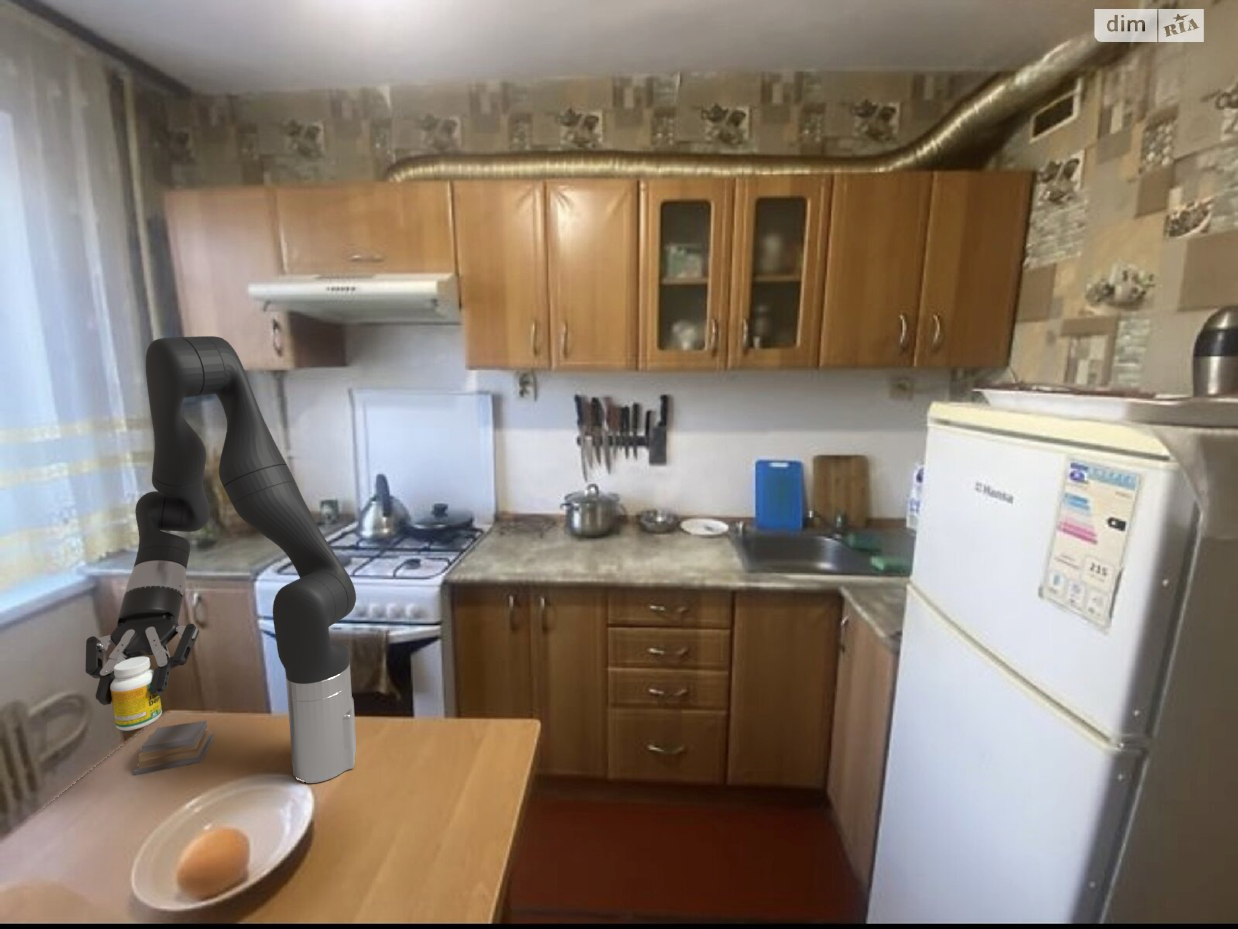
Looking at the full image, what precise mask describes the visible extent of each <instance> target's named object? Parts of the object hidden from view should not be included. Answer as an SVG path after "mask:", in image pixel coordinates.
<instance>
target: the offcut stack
mask: <svg viewBox="0 0 1238 929" xmlns="http://www.w3.org/2000/svg"><path fill="white" fill-rule="evenodd" d="M207 728H208V720H200V721H194V722H188V723H182V724H181V723H179V724H174V725H168V726H161V727H157V728H156V729H155V730H154V731H153V733H152V734H150V735H149V736H148V738H147V739H146V741H145V742H144V743H143V744H142V746H141V749H140V752H139V754H138V762H137V767H136V768H135V769H134V770H133V776H138V775H142V774H143V775H144V774H148V773H152V772H156V771H161V770H165V769H166V770H167V769H171V768H176V767H177V768H178V767H181V766H185V765H191V764H195V763H201V762H202V760H203V758H204V757H205V755H206V754H207V751H208V749H209V747H210V745H211V744H212V741H213V740H214V738H215V734H214V733H211V734H210V730H209V729H208V730H206V729H207Z"/></svg>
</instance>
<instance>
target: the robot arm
mask: <svg viewBox="0 0 1238 929" xmlns="http://www.w3.org/2000/svg"><path fill="white" fill-rule="evenodd" d="M145 376H146V385H147V386H146V387H147V394H148V401H149V402H148V404H149V409H150V410H149V411H150V415H151V421H152V422H151V423H152V428H153V429H152V430H153V436H154V450H153V451H154V453H153V462H152V472H151V474H152V475H151V483H152V486H153V488H154V489H155V490H156V491H149V492H147V493H144V494H143V495H142V496H140V498H138V499H137V501H136V505H135V511H134V514H135V520H136V525H137V529H138V548H137V553H136V558H135V561H134V565H133V568H132V571H131V573H130V576H129V578H128V580H127V584H126V587H125V591H124V595H123V599H122V603H121V606H120V610H119V613H118V617H117V622H116V623H117V624H116V626H115V628H114V629H113V631H112V632H110V634H108V635H104V636H101V637H96V636H94V635H93V636H90V637H88V638H87V639H86V640H85V673H86V674H87V675H88V676H90V677H92V678H94V679H99V681H98V685H97V689H96V692H95V700H97V701H98V703H99V704H101V705H103V706H106V705H111V704H112V696H111V690H110V685H111V683H112V681H113V680H114V679H115V678H116V676H115V675H114V667H115V665H117V664H118V663H120V662H122V661H124V660H127V659H131V658H135V657H143V656H154V657H155V661H156V664H157V667H156V668H154V670H155V671H154V676H153V680H152V685H151V690H150V693H151V695H153V696H154V697H155V696H160V697H161V695H162V692H165V691H166V690H167V689H168V685H169V678H170V674H171V671H172V670H173V669H174V668H176V667H178V666H185V665H186V664H187V663H188V661H189V658H190V655H191V653H192V650H193V647H194V646H195V644H196V641H197V638H198V637H199V633H200V630H199V628H198V627H197V625H195V624H194V623H189V624H186V625H179V622H178V621H179V617H180V614H181V608H182V604H183V598H184V594H185V591H186V583H187V580H186V579H187V578H186V577H187V576H186V575H187V574H186V573H187V570H188V563H189V557H190V554H191V553H190V552H191V543H190V542H189V540H188V539H186V538H184V537H183V536H180V535H177V534H173V533H169V532H180V533H181V532H182V533H185V532H186V533H192V532H193V533H194V532H197V531H200V530H201V529H203V528H204V527H205V526H206V525H207V524H208V522H209V519H210V515H211V509H210V503H209V500H208V497H207V495H206V494H207V493H206V492H205V491H206V490H205V488H204V475H205V469H206V462H207V451H206V446H205V444H204V442H203V440H202V439H201V437H200V436H199V434H198V433H197V432H196V430H194V429H193V428H192V426H191V425H190V424H189V423H188V422H187V420H186V419H185V417H184V415H183V411H182V408H183V406H182V405H183V402H184V399H185V398H191V397H192V398H193V397H199V396H200V397H201V396H207V395H209V396H210V395H216V396H217V398H218V400H219V401H220V403H221V406H222V409H223V410H224V411H223V412H224V414H225V418H226V434H225V437H224V438H225V439H224V442H223V446H222V451H221V454H220V459H219V466H218V476H219V480H220V482H221V485H222V487H223V490H224V491H225V493H226V494H227V497H228V499H229V501H230V502H231V505H232V507H233V508H234V510H235V512H236V513H237V514H238V516H239V517H240V518H241V519H242V520H243V521H244V522H245V523H247V524H248V525H249V526H250V527H251V528H253V529H254V530H255V531H257V532H259V534H261V535H262V536H264V537H265V538H267V539H268V540H270V541H271V542H272V543H274V544H275V545H277V547H279V548H280V549H281V550H282V551H283V552H284V554H285V555H286V556H287V558H288V559H289V560H290V562H291V563H292V565H293V567H294V569H295V571H296V573H297V575H298V577H299V578H298V579H296V580H293V581H292V582H289V583H287V584H286V585H284V586H282V587H281V588H279V590H278V591H277V593H276V594H275V596H274V600H273V603H272V604H273V605H272V620H273V621H272V622H273V627H274V628H273V629H274V633H275V634H274V635H275V641H276V648H277V654H278V658H279V661H280V662H281V664H282V666H283V668H284V671H285V672H284V673H285V680H286V682H285V683H286V696H287V709H288V722H289V723H288V724H289V734H290V735H289V736H290V738H289V739H290V747H291V748H290V749H291V750H290V751H291V752H290V753H291V765H292V775H293V777H294V776H295V777H297V778H299V779H301V780H304V781H305V782H306V784H315V783H321V782H326V781H328V780H330V779H333V778H336V777H338V776H339V775H341V774H343V773H345V771H349V770H353V769H354V767H355V760H356V751H357V735H356V722H355V720H356V719H355V703H354V701H355V700H354V698H353V696H352V682H351V663H350V662H351V660H350V650H349V648H348V646H347V645H346V644H344V643H343V642H339V641H332V640H331V638H330V632H329V631H330V628H331V627H332V626H333V625H335V624H336V623H337V622H339V621H341V620H342V619H344V618H346V617H347V616H348V615H349V614H350V613H351V612H353V610H354V608H355V606H356V601H357V593H356V592H357V591H356V588H355V586H354V582H353V580H352V579H351V577H350V575H349V573H348V572H347V570H346V569H345V567H344V565H343V564H342V563H341V561H340V560H339V558H338V556H337V555H336V553H335V552H334V550H333V549H332V547H331V546H330V544H329V543H328V541H327V539H326V538H325V536H324V534H323V533H322V531H321V529H320V527H319V525H318V523H317V522H316V520H315V518H314V516H313V514H312V513H311V511H310V509H309V506H308V505H307V503H306V501H305V499H304V498H303V495H302V493H301V491H300V489H299V487H298V486H299V485H298V484H297V482H296V480H295V477H294V476H293V474H292V472H291V470H290V468H289V466H288V463H287V462H286V460H285V458H284V457H283V454H282V453H281V451H280V449H279V448H278V446H277V443H276V442H275V440H274V438H273V435H272V433H271V432H270V430H269V429H270V428H269V427H268V425H267V423H266V422H265V419H264V417H263V414H262V411H261V410H260V407H259V405H258V401H257V399H256V396H255V394H254V392H253V391H254V390H253V389H252V386H251V383H250V381H249V378H248V376H247V373H246V371H245V368H244V366H243V364H242V362H241V359H240V358H239V355H238V354H237V352H236V351H235V349H234V347H233V346H232V345H231V344H230V342H229V341H228V340H226V339H224V338H223V337H220V336H213V335H212V336H211V335H209V336H208V335H207V336H206V335H204V336H202V335H201V336H180V337H179V336H178V337H176V336H175V337H174V336H173V337H163V338H162V337H161V338H158V339H154V340H153V341H151V342H150V344H149V345H148V347H147V349H146V353H145ZM177 635H178V638H179V641H178V644H177V646H176V649H175V651H174V654H173V655H172V656H170V655H171V654H170V651H169V648H168V644H169V643H170V642H171V641H172V640H173V639H174V638H175V637H176V636H177ZM112 643H113V644H114V645H115V647H114V649H113V650H112V652H111V653H110V654H109V656H108V660H107V661H106V662H105V664H104V653H105V652H106V651H108V648H109V646H110V645H111V644H112ZM295 777H294V778H295Z"/></svg>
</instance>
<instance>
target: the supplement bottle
mask: <svg viewBox="0 0 1238 929" xmlns="http://www.w3.org/2000/svg"><path fill="white" fill-rule="evenodd" d="M150 660H151V659H150V657H148V656H139V657H135V658H131V659H127V660H124V661H122V662H120V663H118V664H117V665H115V667H114V675H115V676H116V678H115V679H114V680H113V681H112V683H111V685H110V690H111V696H112V702H111V704H112V708H113V714H114V715H113V716H114V723H115V726H116V729H118V730H120V731H134V730H136V729H141V728H144V727H146V726H149V725H151V724H152V723H153V722H154V723H155V722H156V721H157V720H158V719H160V717H161V716H162V713H163V710H162V700H161V695H160V696H155V697H154V696H153V695H151V693H150V690H151V685H152V680H153V676H154V671H155V669H153V668H150V667H151V661H150Z"/></svg>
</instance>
